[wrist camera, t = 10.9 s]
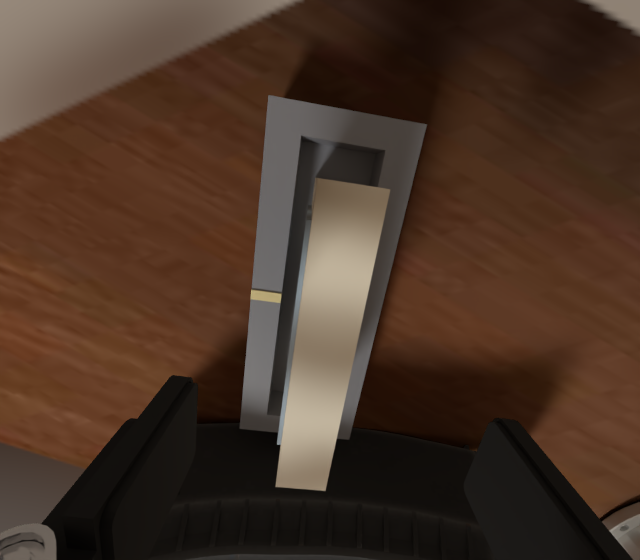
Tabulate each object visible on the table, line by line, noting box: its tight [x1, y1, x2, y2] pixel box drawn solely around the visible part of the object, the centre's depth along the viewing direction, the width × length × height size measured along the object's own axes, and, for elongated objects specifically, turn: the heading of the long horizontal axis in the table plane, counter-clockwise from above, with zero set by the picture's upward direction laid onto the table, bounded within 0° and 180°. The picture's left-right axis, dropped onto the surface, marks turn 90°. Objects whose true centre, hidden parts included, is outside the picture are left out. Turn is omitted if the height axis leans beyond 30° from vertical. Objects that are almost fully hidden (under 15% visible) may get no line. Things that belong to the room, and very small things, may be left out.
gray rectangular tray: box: [240, 95, 427, 440], centre depth 20 cm, size 21×8×4 cm, turn 171°
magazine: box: [148, 423, 496, 560], centre depth 21 cm, size 17×3×30 cm
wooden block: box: [276, 178, 390, 491], centre depth 16 cm, size 14×3×9 cm, turn 172°
